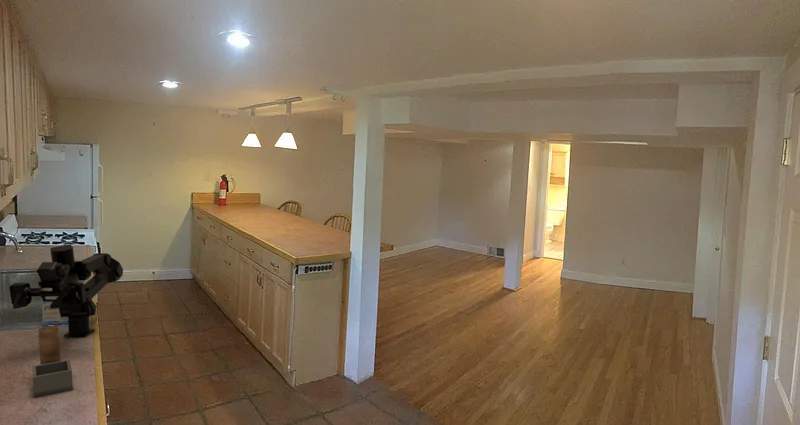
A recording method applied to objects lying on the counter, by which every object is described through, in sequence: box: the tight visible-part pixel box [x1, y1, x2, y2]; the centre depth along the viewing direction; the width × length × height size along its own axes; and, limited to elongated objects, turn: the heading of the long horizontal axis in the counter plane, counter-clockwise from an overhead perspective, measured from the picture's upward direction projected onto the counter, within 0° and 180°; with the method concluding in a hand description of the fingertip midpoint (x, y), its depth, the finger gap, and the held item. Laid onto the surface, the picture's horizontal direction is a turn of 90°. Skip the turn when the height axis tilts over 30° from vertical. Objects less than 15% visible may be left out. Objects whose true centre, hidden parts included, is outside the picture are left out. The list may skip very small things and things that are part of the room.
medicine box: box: [41, 300, 68, 327], centre depth 176 cm, size 8×4×9 cm, turn 117°
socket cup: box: [31, 359, 74, 398], centre depth 130 cm, size 8×8×5 cm
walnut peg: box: [38, 325, 62, 365], centre depth 136 cm, size 4×4×13 cm
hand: (32, 307), depth 140 cm, fingers open, 9 cm apart
